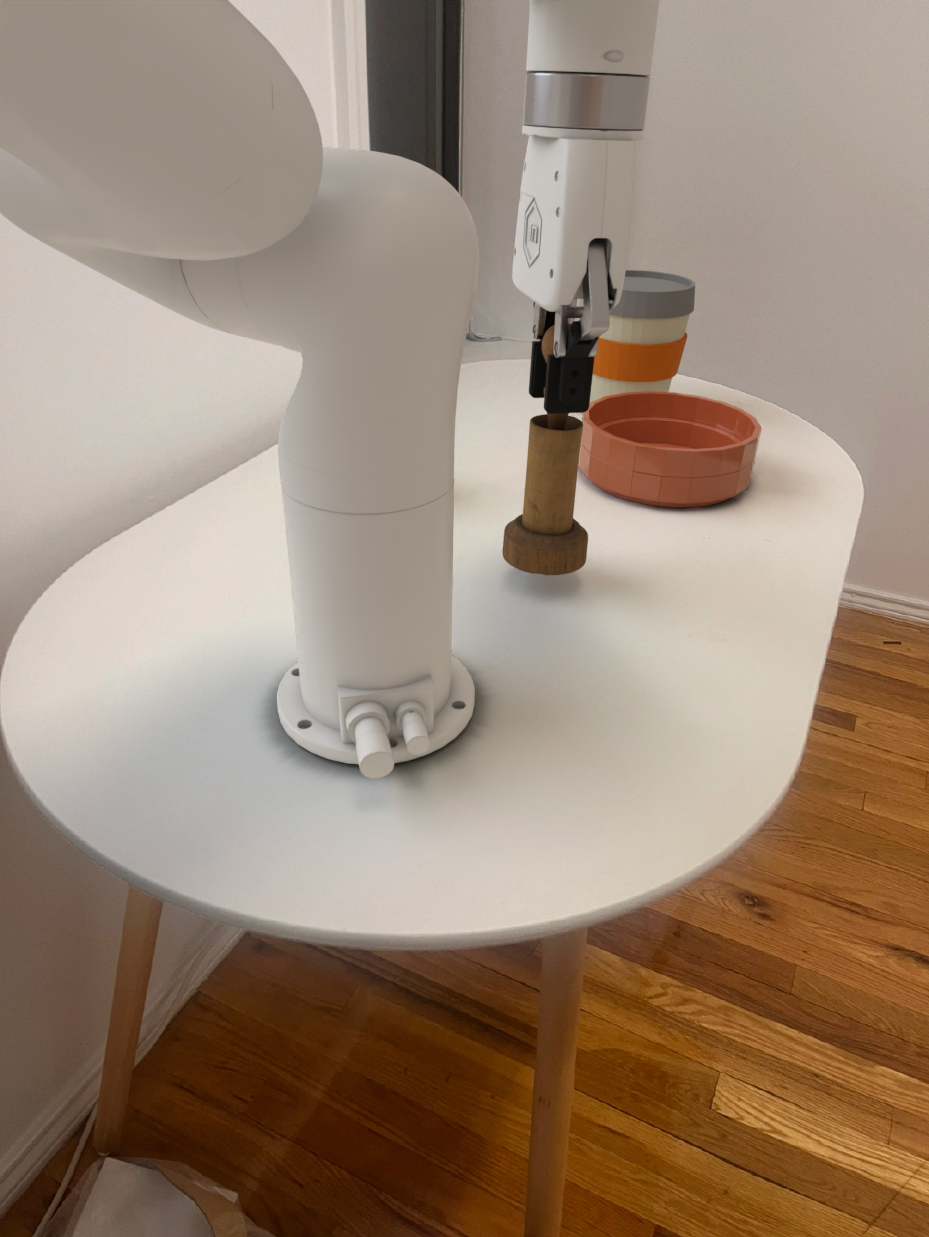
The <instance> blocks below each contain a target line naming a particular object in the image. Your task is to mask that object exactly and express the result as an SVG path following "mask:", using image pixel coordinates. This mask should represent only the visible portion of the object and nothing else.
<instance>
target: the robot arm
mask: <svg viewBox="0 0 929 1237" xmlns="http://www.w3.org/2000/svg"><path fill="white" fill-rule="evenodd" d="M659 6H660V0H529V12H528V13H529V14H528V30H527V31H528V33H527V48H526V65H525V72H526V73H525V77H524V78H525V79H524V92H523V93H524V95H523V108H522V109H523V111H522V127H521V135H522V136H523V135H524V136H528V140H527V144H526V151H525V155H524V156H525V157H524V162H523V168H522V173H521V174H522V175H521V183H520V190H519V191H520V192H519V199H518V208H517V218H516V228H515V239H514V248H513V257H512V258H513V259H512V270H511V279H512V282H513V285H514V286H515V288H516V289H517V290H518V291H519V292H520V293H522V294H523V295H524V296H525V297H527V298H529V299H530V300H531V301H532V302H533V303H532V304H533V305H532V306H533V318H532V328H531V334H532V339H533V340H532V341H531V353H530V354H531V355H530V368H529V383H528V394H529V395H530V397H532V398H533V399H543V410H544V411H545V412H546V414H547V413H549V414H558V413H569V414H579V413H581V414H583V412H586V411H587V410H588V409H589V403H590V394H591V385H592V376H593V367H594V358H595V356H596V354H597V349H598V339H599V336H601V335H602V334H603V333H605V332H606V331H607V330H608V329H609V325H610V318H609V310H612V309H613V308H614V307H615V306H616V305H617V304H618V303H619V301H620V299H621V295H622V290H623V285H624V278H625V272H626V270H627V263H628V254H629V244H630V234H631V222H632V221H631V220H632V210H633V209H632V207H633V192H634V190H633V189H634V170H635V169H634V167H635V166H634V164H635V141H643V140H644V133H645V131H644V129H645V124H646V116H647V115H646V114H647V106H648V100H649V91H650V83H651V73H652V63H653V56H654V48H655V47H654V46H655V40H656V30H657V22H658V14H659ZM321 134H322V133H321V130H320V125H319V122H318V119H317V116H316V113H315V110H314V107H313V106H312V103H311V101H310V99H309V96H308V94H307V93H306V91H305V89H304V87H303V85H302V83H301V81H300V79H299V78H298V77H297V74H296V73H295V72H294V71H293V69H292V68H291V67H290V65H289V64H288V63H287V61H286V60H285V59H284V57H283V56H282V54H281V53H280V52H279V50H278V49H277V48H276V47H275V46H274V44H272V43H271V41H269V39H268V38H267V37H266V35H264V34H263V33H262V32H261V31H260V30H259V29H258V28H257V27H256V26H255V25H254V24H253V23H252V22H251V21H250V20H249V19H248V18H247V17H246V16H245V15H244V14H243V13H242V12H241V11H240V10H239V9H238V8H237V7H235V5H233V3H231V1H229V0H0V215H1V216H3V217H4V218H5V219H7V220H8V221H9V222H10V223H11V224H13V225H14V226H16V227H17V228H19V229H20V230H22V231H23V232H24V233H26V234H28V235H30V236H31V237H32V238H35V239H36V240H38V241H40V242H41V243H42V244H45V245H47V246H48V247H50V248H52V249H54V250H56V251H58V252H60V253H61V254H63V255H65V256H67V257H69V258H71V259H73V260H74V261H76V262H79V263H80V264H81V265H84V266H86V267H88V268H90V269H92V270H93V271H95V272H97V273H99V274H100V275H103V276H105V277H107V278H108V279H110V280H112V281H114V282H116V283H118V284H120V285H122V286H123V287H126V288H127V289H129V290H131V291H134V292H135V293H137V294H139V295H141V296H142V297H145V298H147V299H149V300H150V301H152V302H154V303H156V304H158V305H161V306H162V307H164V308H166V309H169V310H170V311H172V312H174V313H176V314H179V315H180V316H183V317H185V318H187V319H189V320H191V321H193V322H196V323H197V324H201V325H202V326H205V327H208V328H210V329H213V330H216V331H220V332H224V333H227V334H230V335H235V336H238V337H241V338H246V339H250V340H253V341H258V342H262V343H266V344H270V345H273V346H277V347H278V346H279V347H283V348H284V349H287V350H290V351H293V352H296V353H300V354H301V358H302V363H301V364H302V366H301V370H300V375H299V378H298V380H297V383H296V384H295V388H294V389H293V392H292V394H291V396H290V398H289V400H288V402H287V404H286V407H285V410H284V412H283V415H282V419H281V421H280V424H279V425H280V426H279V430H278V431H279V432H278V438H277V439H278V441H277V456H278V469H279V481H280V482H279V483H280V487H281V498H282V509H283V519H284V528H285V529H284V530H285V538H286V539H285V540H286V549H287V550H286V551H287V560H288V561H287V562H288V570H289V571H288V572H289V581H290V591H291V601H292V612H293V621H294V622H293V623H294V633H295V640H296V641H295V643H296V653H297V662H295V663H294V664H293V665H292V666H291V667H290V668H289V669H288V670H287V671H286V672H285V673H284V676H282V679H281V681H280V682H279V684H278V688H277V693H276V705H277V707H276V708H277V714H278V718H279V721H280V724H281V726H282V727H283V730H284V731H285V732H286V734H287V736H289V737H290V738H291V739H292V740H293V741H294V742H295V743H296V744H297V745H299V746H301V747H302V748H303V749H305V750H307V751H308V752H310V753H312V754H315V755H316V756H319V757H322V758H325V759H326V760H327V759H328V760H331V761H334V762H340V763H344V764H348V765H349V764H350V765H358V767H359V772H360V773H361V775H363V777H366V778H367V779H371V780H376V779H377V780H378V779H382V778H384V777H386V776H389V775H390V773H391V772H392V771H394V768H395V764H398V763H404V762H408V761H412V760H416V759H418V758H421V757H424V756H427V755H429V754H432V753H434V752H435V751H438V750H440V749H441V748H443V747H446V746H447V744H449V743H450V742H452V741H453V740H455V739H456V738H457V737H458V736H459V735H460V734H461V733H462V732H463V730H465V729H466V727H467V726H468V724H469V722H470V720H471V718H472V717H473V713H474V708H475V702H476V700H475V698H476V696H475V695H476V688H475V683H474V679H473V676H472V675H471V673H470V671H469V670H468V668H467V667H466V666H465V664H463V663H462V662H461V661H460V659H458V658H457V657H456V656H454V655H453V654H452V650H453V649H452V645H453V643H452V641H453V586H454V585H453V581H454V576H453V575H454V525H455V524H454V520H455V519H454V517H455V514H454V513H455V447H456V446H455V444H456V443H455V441H456V440H455V439H456V419H457V404H458V391H459V382H460V374H461V367H462V361H463V356H464V350H465V344H466V340H467V335H468V330H469V325H470V321H471V317H472V311H473V307H474V302H475V298H476V292H477V285H478V280H479V269H480V268H479V267H480V245H479V237H478V231H477V227H476V225H475V221H474V219H473V215H472V213H471V211H470V209H469V207H468V205H467V203H466V201H465V200H464V199H463V197H462V196H461V194H460V193H459V192H458V191H457V189H456V188H455V187H454V186H453V185H452V184H451V183H450V182H449V181H448V180H447V179H445V177H443V176H442V175H441V174H439V173H438V172H436V171H435V170H433V169H431V168H429V167H427V166H425V165H424V164H422V163H420V162H417V161H414V160H412V159H410V158H406V157H403V156H400V155H397V154H396V155H395V154H391V153H386V152H381V151H375V150H366V149H356V148H345V147H331V146H323V138H322V135H321ZM578 299H580V300H581V299H582V301H583V303H584V304H583V306H578ZM576 319H579V320H576ZM568 324H571V326H570V328H569V330H568ZM553 325H555V330H554V347H553V350H554V354H548V359H547V363H546V361H545V358H544V356H543V353H542V340H543V337H544V335H545V333H546V331H547V330H548V329H549V328H550V327H551V326H553ZM544 388H545V396H544Z"/></svg>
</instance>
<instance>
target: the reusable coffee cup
mask: <svg viewBox="0 0 929 1237" xmlns="http://www.w3.org/2000/svg"><path fill="white" fill-rule="evenodd" d="M695 296H696V283H695V281H694V280H692V279H690V278H688V277H687V276H686V277H685V276H682V275H678V274H675V273H668V272H661V271H656V270H655V271H654V270H643V269H641V270H640V269H626V272H625V278H624V285H623V290H622V295H621V299H620V301H619V303H618V304H617V305H616V306H615V307H614V308H613V309H612V310H609V318H610V325H609V329H608V330H607V331H606V332H605V333H603V334H602V335H601V336H599V339H598V349H597V354H596V356H595V358H594V367H593V376H592V385H591V394H590V403H591V402H593V401H595V400H598V399H600V398H602V397H605V396H610V395H615V394H621V393H627V392H646V391H653V392H670V388H671V384H672V380H673V378H674V377H675V376H677V374H678V372H679V368H680V364H681V361H682V357H683V354H684V350H685V346H686V343H687V340H688V333H687V332H686V330H687V326H688V323H689V319H690V315H691V314H692V313H693V312H694V311H695ZM583 305H584V303H583Z"/></svg>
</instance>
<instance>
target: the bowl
mask: <svg viewBox="0 0 929 1237" xmlns="http://www.w3.org/2000/svg"><path fill="white" fill-rule="evenodd" d="M581 414H582V415H581V421H582V423H583V430H582V439H581V447H580V455H579V464H578V470H580V472H581V473H582V474H583V475H584V476H585V477H586V478H587V479H588V480H589V481H590V482H591V483H593V485H595V486H596V487H597V488H598V489H600V490H602V491H604V492H606V493H608V494H610V495H613V496H615V497H618V498H620V499H622V500H623V499H624V500H627V501H630V502H633V503H634V502H635V503H639V504H643V505H648V506H656V507H666V508H697V507H706V506H710V505H715V504H719V503H722V502H725V501H727V500H729V499H731V498H733V497H736V496H737V495H739V494H740V493H741V492H744V490H746V489H748V487H749V485H750V483H751V480H752V477H753V472H754V468H755V463H756V457H757V453H758V449H759V448H758V447H759V443H760V439H761V433H762V430H763V428H762V426H761V425H760V422H759V420H758V419H757V418H756V417H755V416H753V415H752V414H751V413H750V412H749V413H748V411H746V410H744V409H743V408H740V407H737V406H735V405H732V404H730V403H727V402H726V401H725V402H724V401H721V400H717V399H713V398H709V397H705V396H699V395H696V394H695V395H694V394H687V393H681V392H674V391H673V392H671V391H668V392H653V391H646V392H627V393H621V394H615V395H610V396H605V397H602V398H600V399H598V400H595V401H593V402H591V403H589V409H588V410H587V411H586V412H583V413H581Z"/></svg>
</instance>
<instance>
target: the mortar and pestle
mask: <svg viewBox="0 0 929 1237" xmlns="http://www.w3.org/2000/svg"><path fill="white" fill-rule="evenodd" d="M570 326H571V324H568V330H569V328H570ZM554 330H555V325H553V326H551V327H550V328H549V329H548V330H547V331H546V333H545V335H544V337H543V340H542V353H543V356H544V358H545V361H546V363H547V359H548V354H554V350H553V347H554ZM544 396H545V388H544ZM569 414H570V413H558V414H549V413H547V412H546V414H539V415H534V416H532V417H531V418H530V419H529V428H528V443H527V444H528V445H527V455H526V456H527V458H526V469H525V481H524V494H523V506H522V514H519V515H518V516H516V517H515V518H514V519H513V520H511V521H509V522H508V523H507V524H506V525H505V527H504V530H503V540H502V541H503V542H502V558H503V559H504V561H505V562H506V563H507V564H508V565H509V566H511V567H513V568H514V569H516V570H519V571H522V572H525V573H529V574H533V575H535V574H536V575H542V576H563V575H568V574H571V573H575V572H578V571H579V570H580V569H582V568H583V567H584V566H585V564H586V562H587V557H588V546H589V533H588V531H587V530H586V529H585V528H584V526H582V525H581V524H580V523H579V521H577V520H576V519H575V518H574V512H575V503H576V492H577V491H576V490H577V483H578V482H577V481H578V472H579V455H580V447H581V439H582V430H583V423H582V419H579V418H577V417H575V416H572V415H569Z"/></svg>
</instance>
